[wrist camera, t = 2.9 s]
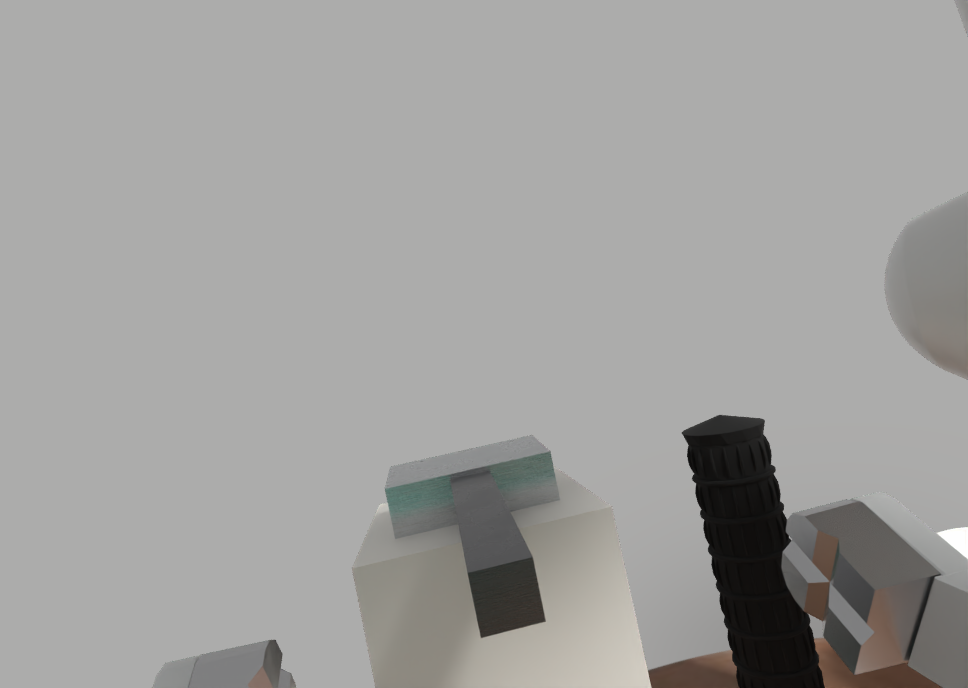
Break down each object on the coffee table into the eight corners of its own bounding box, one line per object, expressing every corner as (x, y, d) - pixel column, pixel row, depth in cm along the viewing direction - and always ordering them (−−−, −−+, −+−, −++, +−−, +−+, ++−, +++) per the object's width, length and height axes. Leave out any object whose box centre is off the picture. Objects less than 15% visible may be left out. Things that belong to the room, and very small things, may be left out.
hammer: (540, 476, 42) (532, 435, 42) (647, 603, 22) (631, 524, 22) (399, 509, 41) (390, 466, 41) (376, 673, 21) (359, 590, 21)
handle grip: (880, 747, 46) (823, 677, 56) (801, 408, 47) (759, 399, 57) (747, 764, 47) (713, 692, 57) (673, 433, 48) (653, 419, 58)
